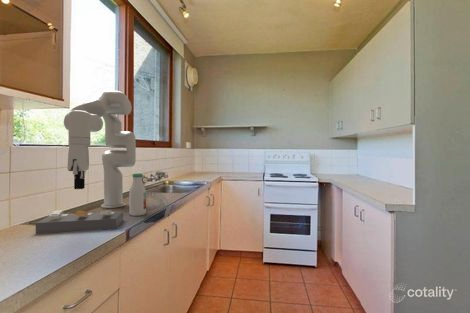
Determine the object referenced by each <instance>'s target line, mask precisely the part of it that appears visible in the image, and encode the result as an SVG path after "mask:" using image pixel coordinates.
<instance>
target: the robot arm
mask: <svg viewBox="0 0 470 313" xmlns="http://www.w3.org/2000/svg"><path fill="white" fill-rule="evenodd" d="M132 108H133V106H132V102H131V100H130V99H129V97H127V95H126V94H125V93H124V92H122V91H119V90H99V91H97V92H96V93H95V94H94V96H93V97H92V98H91V99H90V100H89V101H87V102H84V103H82V104H78V105H75V106H73V107H71V109H69V111H67V112H66V114H65V116H64V119H63V125H64V128H65V129H66V130H67V131H68V133H67V134H68V135H67V136H68V138H67V139H68V143H67V144H68V153H67V170H68V172H72V175H73V189H74V190H83V189H86V188H85V185H86V184H85V182H86V180H85V179H86V178H85V175H86V172H87V171H88V170H89V169H90V155H89V154H90V152H89V147H91V133H95V132H101V130H102V129H103V125H104V130H105V131H104V143H105V146H106V147H107V148H112V150H110V149H109V150H106V151H103V153H102V155H101V161H102V166H103V203H102V204H100V207H101V208H102V209H117V208H122V207H124V206H126V202H124V201H123V199H124V198H123V172H122V171H121V170H120V169H119V168H132V167H134V166H135V164H136V162H137V161H136V160H137V158H136V155H137V153H136V149H137V148H136V146H137V144H136V143H137V142H136V141H137V140H136V136H135V133H134V132H132V131H129V130H126V131H125V130H124V131H123V130H122V127H123V126H122V121H121V119H120V118H119V117H118V116H119V115H125V116H126V115H130V114H131V112H132ZM117 115H118V116H117ZM113 148H114V149H115V150H114V149H113ZM120 149H121V150H120ZM122 149H125V150H122Z"/></svg>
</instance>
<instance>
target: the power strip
mask: <svg viewBox="0 0 470 313" xmlns="http://www.w3.org/2000/svg"><path fill="white" fill-rule="evenodd" d="M75 213H76V212H75ZM75 213H63V214H62V215H61V217H60V218H59V219H49V215H48V216H47V217H44V218H43V219H41V220H39V221H37V222H35V234H36V233H39V234H52V233H68V232H69V233H70V232H84V231H102V230H117V229H118V227H119V226H120V225H121V224H122V222H123V221H124V211H120V210H118V211H111V214H100V211H97V212H93V211H92V212H88V215H76V216H75Z"/></svg>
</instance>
